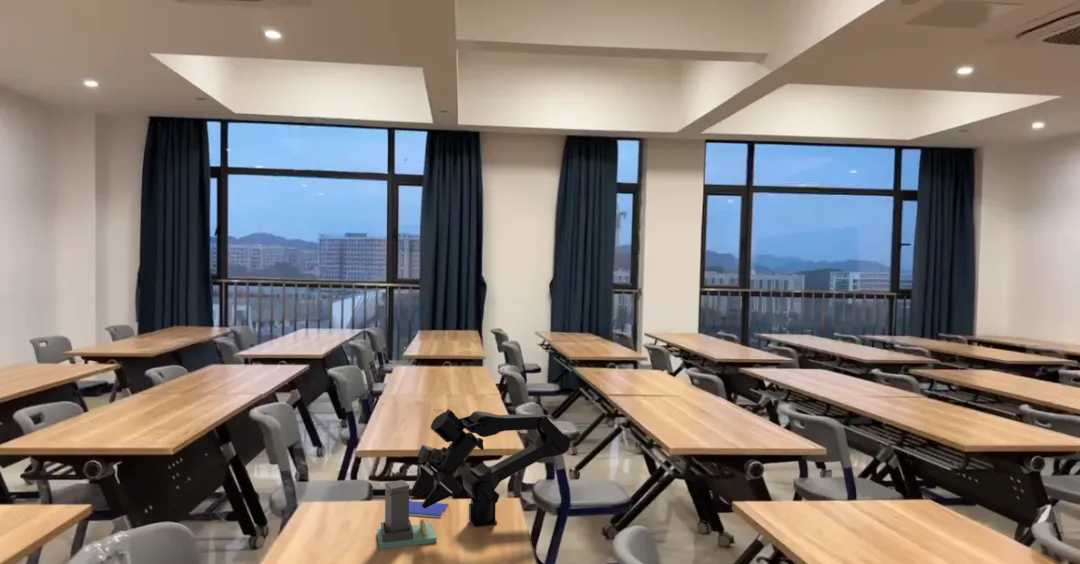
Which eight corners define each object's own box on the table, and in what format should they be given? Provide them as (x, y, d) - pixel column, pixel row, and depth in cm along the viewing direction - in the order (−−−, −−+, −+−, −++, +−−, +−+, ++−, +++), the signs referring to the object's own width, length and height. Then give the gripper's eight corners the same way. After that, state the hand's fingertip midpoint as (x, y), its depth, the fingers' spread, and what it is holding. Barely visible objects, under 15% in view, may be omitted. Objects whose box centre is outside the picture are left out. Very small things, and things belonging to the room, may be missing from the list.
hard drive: (397, 511, 177) (440, 514, 176) (407, 499, 185) (448, 502, 184) (397, 516, 177) (440, 520, 176) (407, 505, 185) (448, 508, 184)
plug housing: (402, 529, 165) (402, 479, 165) (408, 535, 161) (409, 485, 161) (384, 533, 163) (385, 482, 162) (391, 540, 159) (391, 488, 158)
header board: (431, 527, 169) (431, 515, 169) (436, 542, 161) (436, 529, 160) (377, 533, 165) (377, 521, 165) (379, 549, 156) (379, 536, 156)
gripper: (425, 425, 174) (385, 471, 169) (450, 443, 158) (406, 495, 153) (451, 449, 178) (413, 495, 174) (479, 469, 162) (437, 521, 157)
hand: (417, 500), depth 164 cm, fingers open, 9 cm apart
